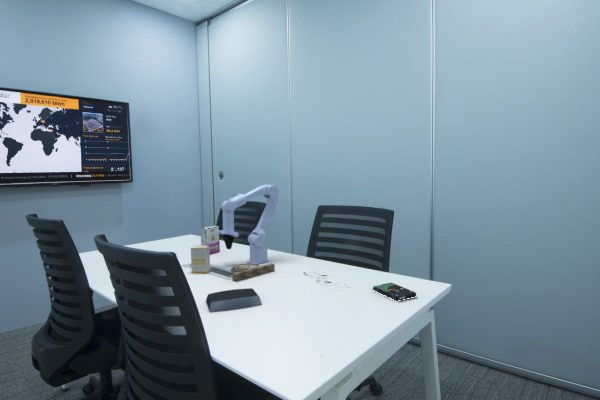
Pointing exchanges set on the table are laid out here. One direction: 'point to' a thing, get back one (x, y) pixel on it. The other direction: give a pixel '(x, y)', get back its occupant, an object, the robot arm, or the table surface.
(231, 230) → the robot arm
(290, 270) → the table surface
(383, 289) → the disk drive
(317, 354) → the table surface
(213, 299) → the external hard drive
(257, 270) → the walnut board
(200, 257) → the supplement box
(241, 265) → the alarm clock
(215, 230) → the candy bar box
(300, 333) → the table surface
